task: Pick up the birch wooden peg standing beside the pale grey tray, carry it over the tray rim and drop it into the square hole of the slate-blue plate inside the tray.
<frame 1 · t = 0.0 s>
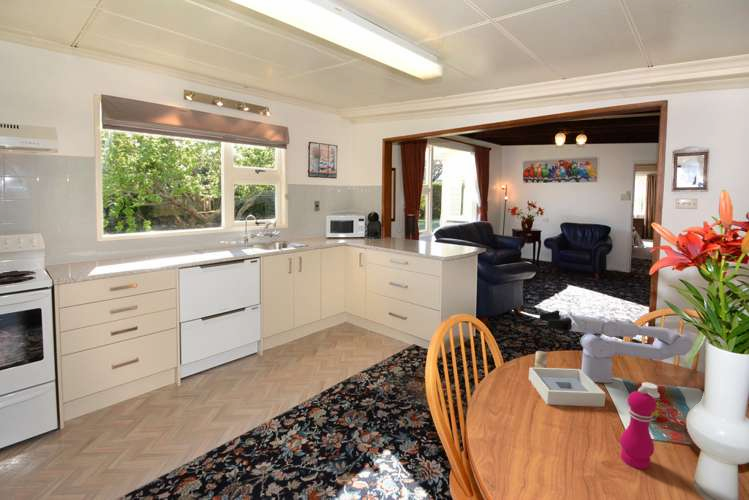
hand: (543, 319, 148), 22 cm above the table, tool horizontal, fingers open, 7 cm apart
supplement bottle: (645, 417, 125), on the table
tray: (563, 391, 139), on the table
peg: (540, 370, 156), on the table
bore plate: (565, 393, 138), resting on tray
pepper mill: (634, 461, 103), on the table
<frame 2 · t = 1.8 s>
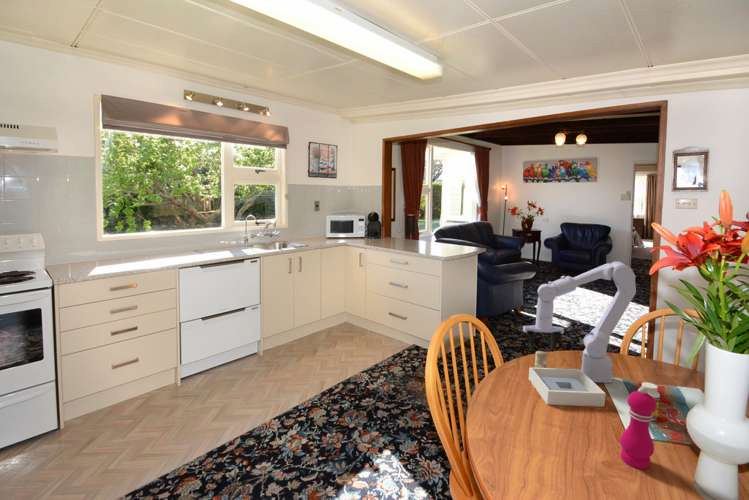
hand: (541, 350, 155), 8 cm above the table, tool pointing down, fingers open, 7 cm apart
nothing on the table moved.
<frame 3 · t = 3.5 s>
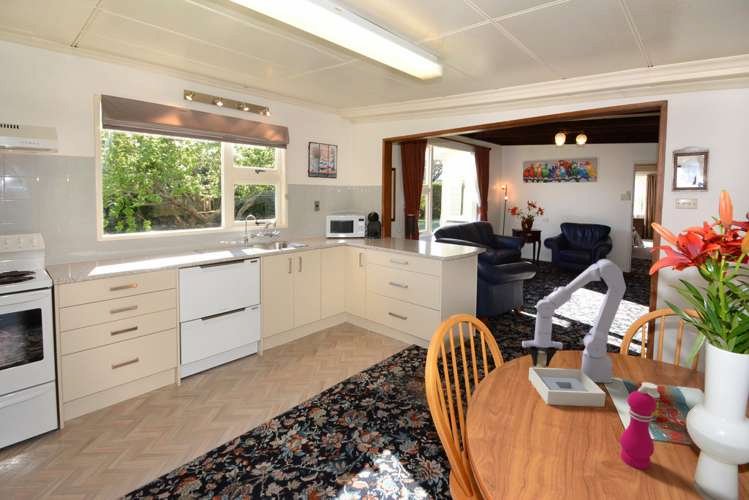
hand: (540, 365, 156), 2 cm above the table, tool pointing down, fingers closed on peg, 4 cm apart
peg: (540, 370, 156), on the table, touching gripper
everything else where it was.
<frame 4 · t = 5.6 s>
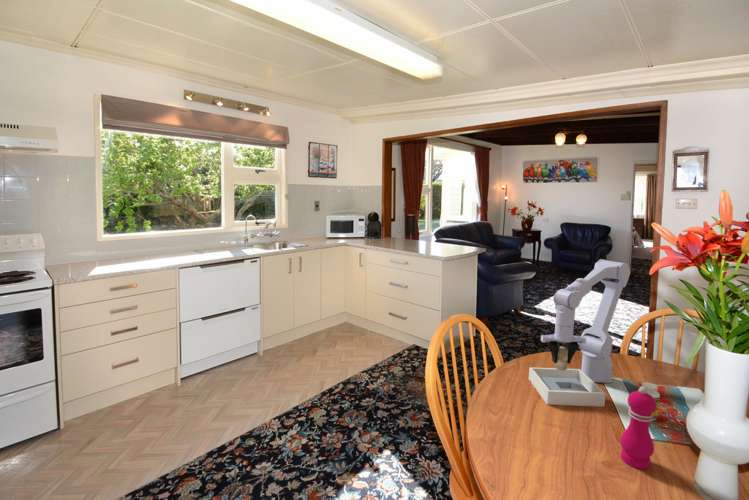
hand: (561, 362, 141), 9 cm above the table, tool pointing down, fingers closed on peg, 4 cm apart
peg: (560, 367, 141), point 7 cm above the table, touching gripper
everything else where it was.
when the fingers open (4 cm above the table, at t = 8.1 s): peg drops 1 cm, resting on tray.
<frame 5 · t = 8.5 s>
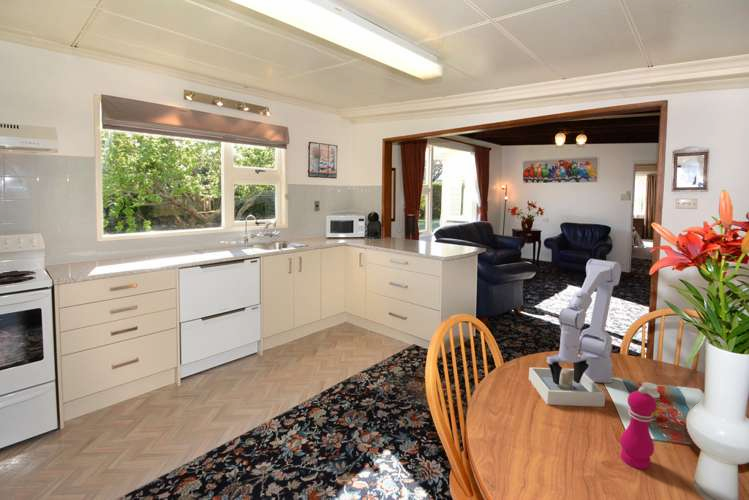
hand: (566, 382, 138), 4 cm above the table, tool pointing down, fingers open, 7 cm apart
peg: (565, 391, 138), point 1 cm above the table, touching tray
everything else where it was.
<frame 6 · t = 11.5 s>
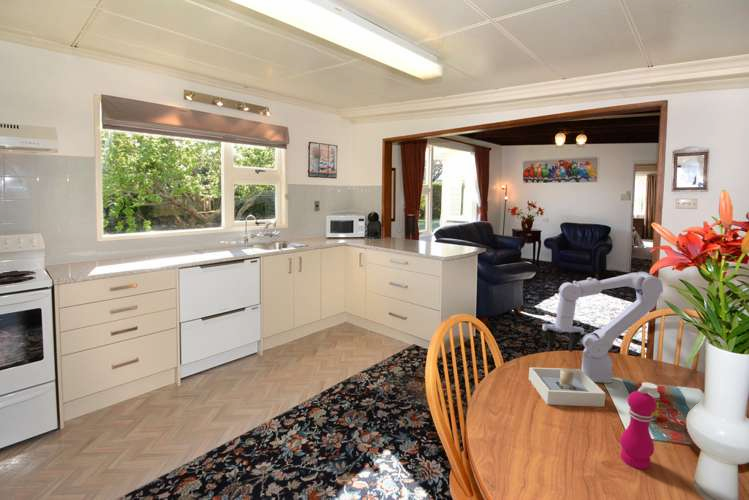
hand: (559, 350, 152), 9 cm above the table, tool pointing down, fingers open, 7 cm apart
nothing on the table moved.
at the end: peg 0.1 cm off-centre on the bore plate, point 0.8 cm above the bore plate's base; peg tilted 0°; the gripper is holding nothing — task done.
